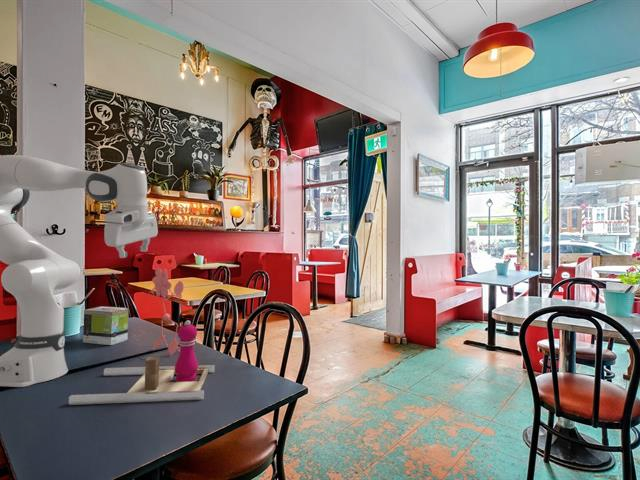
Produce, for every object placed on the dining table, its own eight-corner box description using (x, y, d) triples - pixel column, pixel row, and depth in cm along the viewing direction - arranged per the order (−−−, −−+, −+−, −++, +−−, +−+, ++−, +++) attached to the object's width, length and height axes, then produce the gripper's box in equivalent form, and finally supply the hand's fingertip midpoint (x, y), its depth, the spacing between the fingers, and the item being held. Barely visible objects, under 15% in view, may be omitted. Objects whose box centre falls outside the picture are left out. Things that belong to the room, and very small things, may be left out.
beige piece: (124, 400, 99) (125, 363, 99) (147, 374, 117) (148, 343, 117) (196, 397, 102) (197, 361, 102) (207, 372, 120) (208, 342, 120)
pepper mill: (189, 386, 109) (191, 323, 109) (169, 383, 111) (171, 322, 111) (201, 377, 116) (203, 318, 116) (182, 375, 118) (184, 317, 118)
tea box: (128, 339, 156) (129, 307, 156) (110, 346, 146) (111, 311, 147) (101, 336, 160) (102, 305, 160) (81, 342, 150) (83, 309, 150)
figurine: (160, 343, 152) (160, 265, 152) (193, 356, 137) (194, 269, 136) (123, 352, 140) (124, 267, 139) (156, 368, 125) (157, 272, 124)
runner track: (68, 404, 95) (68, 396, 95) (105, 374, 117) (105, 367, 117) (203, 399, 101) (203, 391, 101) (214, 371, 122) (214, 365, 122)
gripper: (146, 209, 123) (147, 246, 126) (99, 216, 104) (101, 260, 107) (162, 211, 122) (162, 248, 125) (117, 218, 103) (118, 262, 106)
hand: (134, 254), depth 116 cm, fingers open, 8 cm apart
